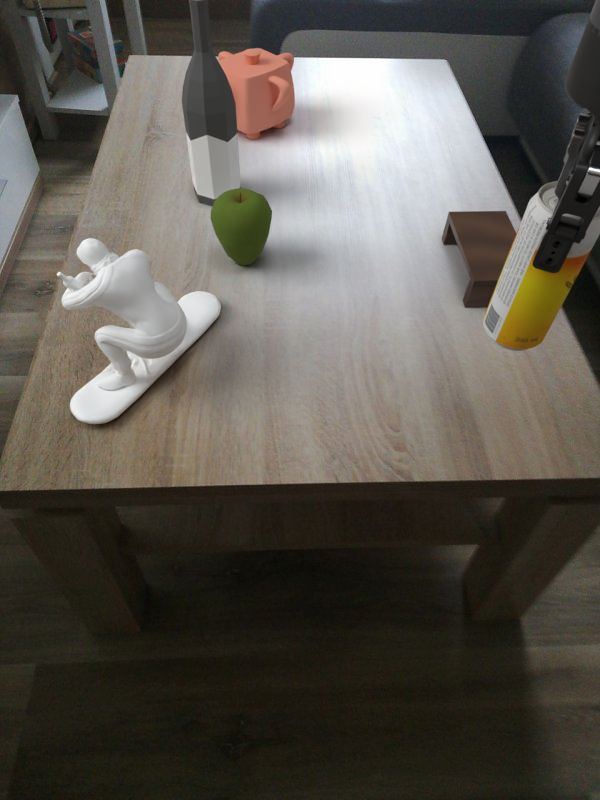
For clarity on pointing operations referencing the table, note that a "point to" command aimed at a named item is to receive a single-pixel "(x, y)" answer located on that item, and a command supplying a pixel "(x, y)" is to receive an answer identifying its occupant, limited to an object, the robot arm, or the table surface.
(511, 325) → the beer can
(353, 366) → the table surface
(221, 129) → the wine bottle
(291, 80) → the teapot
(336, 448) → the table surface
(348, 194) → the table surface
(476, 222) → the shelf
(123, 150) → the table surface
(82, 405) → the figurine
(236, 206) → the apple
